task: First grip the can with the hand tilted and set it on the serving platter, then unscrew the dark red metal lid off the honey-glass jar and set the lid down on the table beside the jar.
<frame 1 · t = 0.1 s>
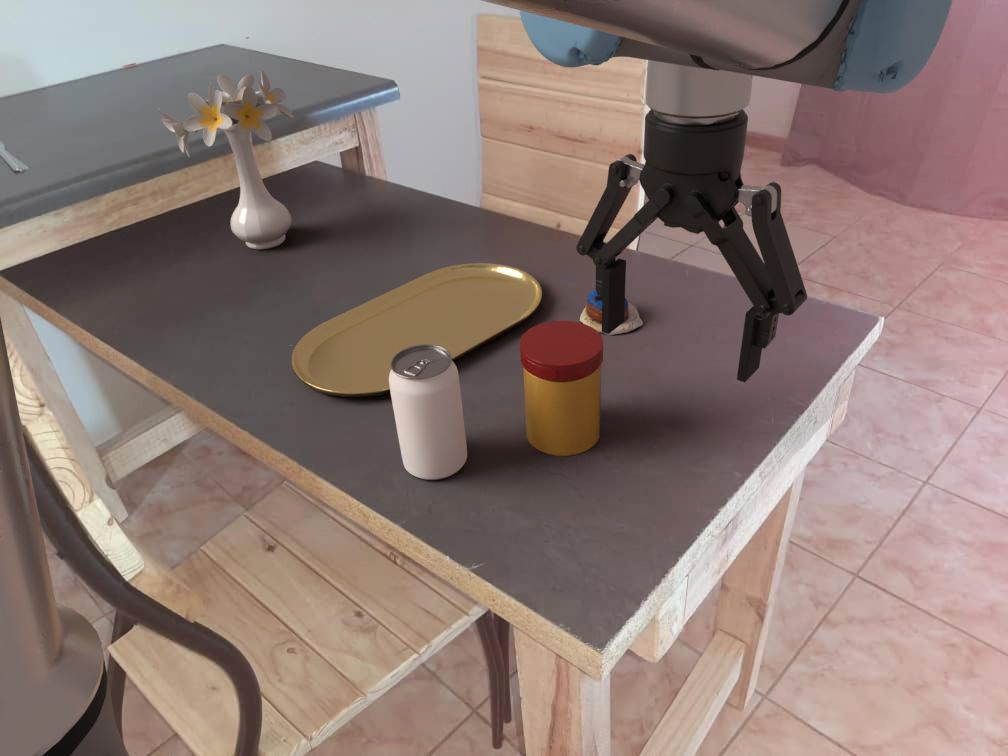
hand: (676, 349, 70), 12 cm above the table, tool pointing down, fingers open, 13 cm apart
dessert: (610, 320, 98), on the table
jar: (562, 432, 80), on the table
serving platter: (424, 331, 98), on the table
can: (435, 461, 78), on the table
jar lid: (561, 345, 74), point 11 cm above the table, screwed on, not yet turned
flower vase: (264, 244, 123), on the table
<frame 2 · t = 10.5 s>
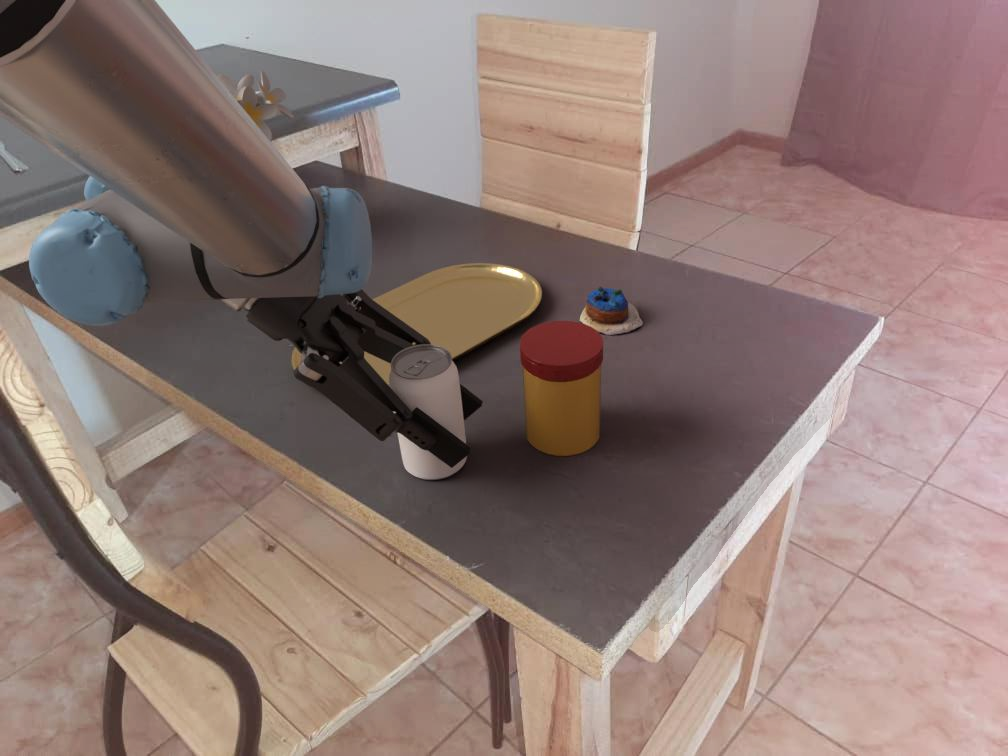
hand: (467, 433, 75), 4 cm above the table, tool tilted 45°, fingers closed on can, 6 cm apart
can: (435, 462, 78), on the table, touching gripper
everything else where it was.
when the fingers open (5 cm above the table, at t = 21.2 s): can stays where it is, resting on serving platter.
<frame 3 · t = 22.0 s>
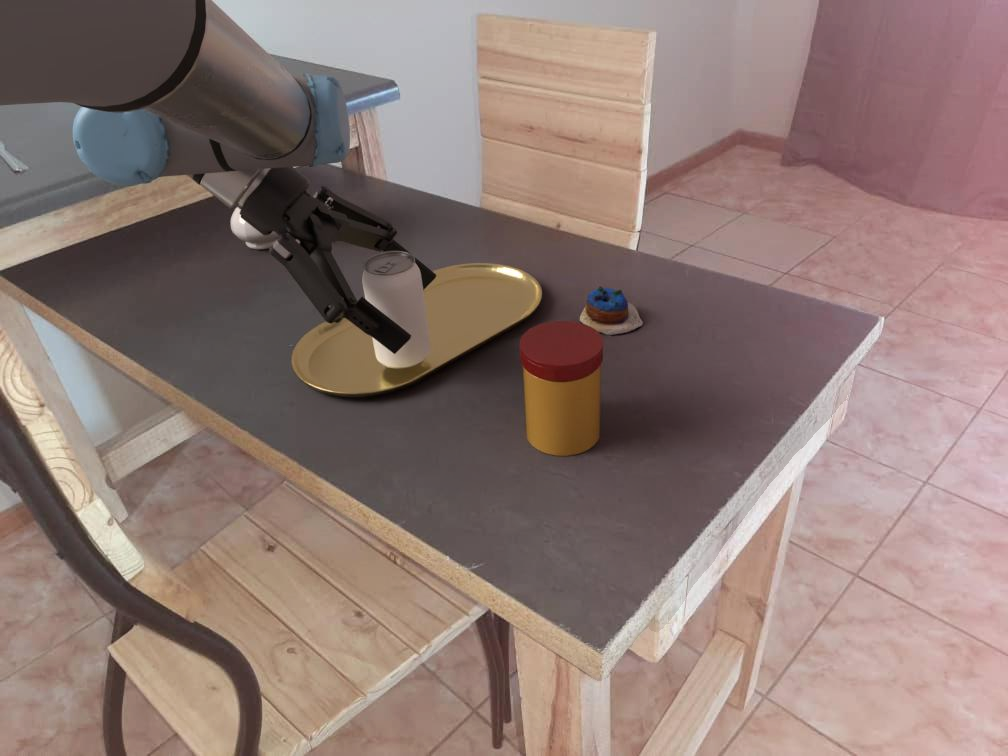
hand: (417, 312, 87), 7 cm above the table, tool tilted 45°, fingers open, 13 cm apart
serving platter: (424, 331, 98), on the table, touching can
can: (403, 356, 91), point 1 cm above the table, touching serving platter
everything else where it was.
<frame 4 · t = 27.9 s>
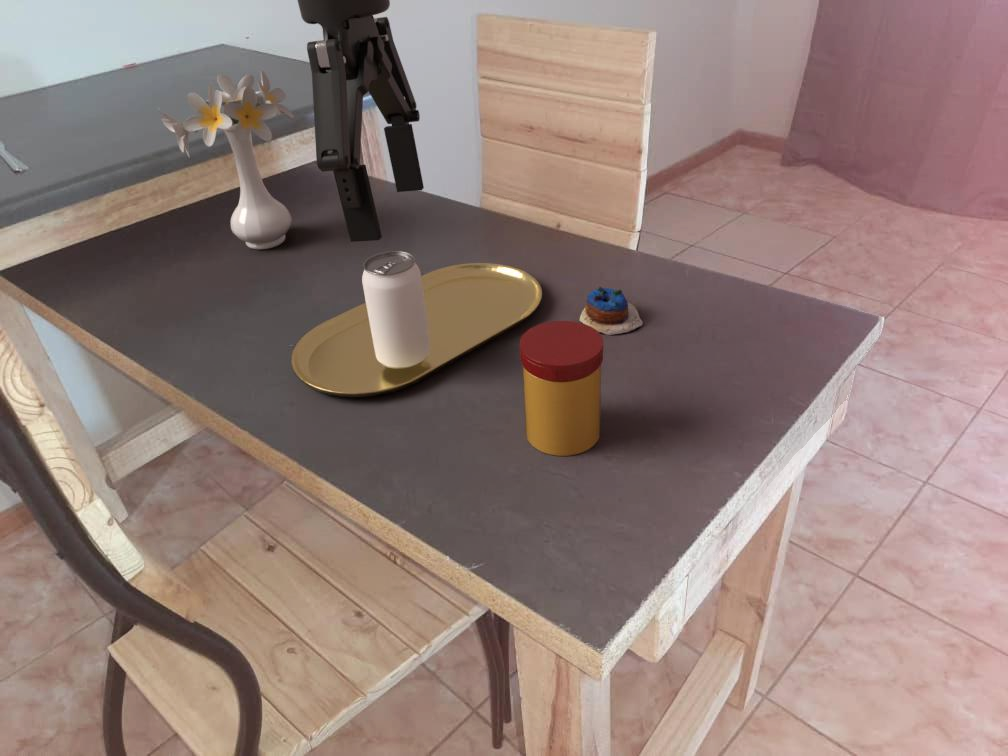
hand: (390, 213, 75), 22 cm above the table, tool pointing down, fingers open, 13 cm apart
nothing on the table moved.
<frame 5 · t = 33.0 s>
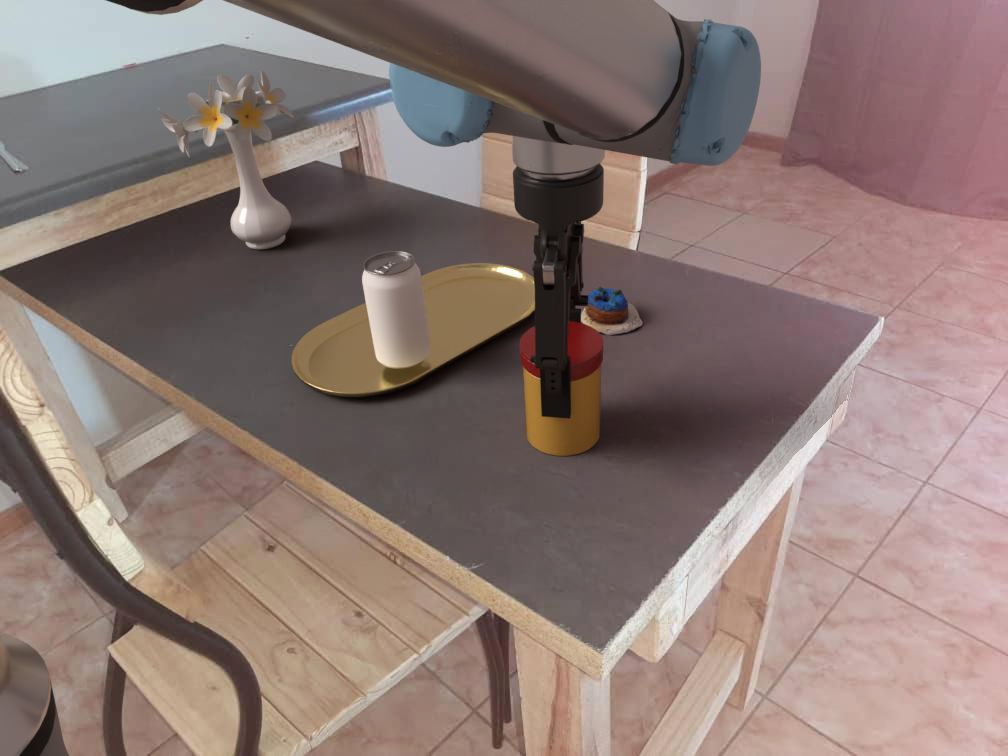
hand: (562, 388, 77), 6 cm above the table, tool pointing down, fingers closed on jar lid, 8 cm apart
jar lid: (561, 345, 74), point 11 cm above the table, screwed on, not yet turned, touching gripper
everything else where it was.
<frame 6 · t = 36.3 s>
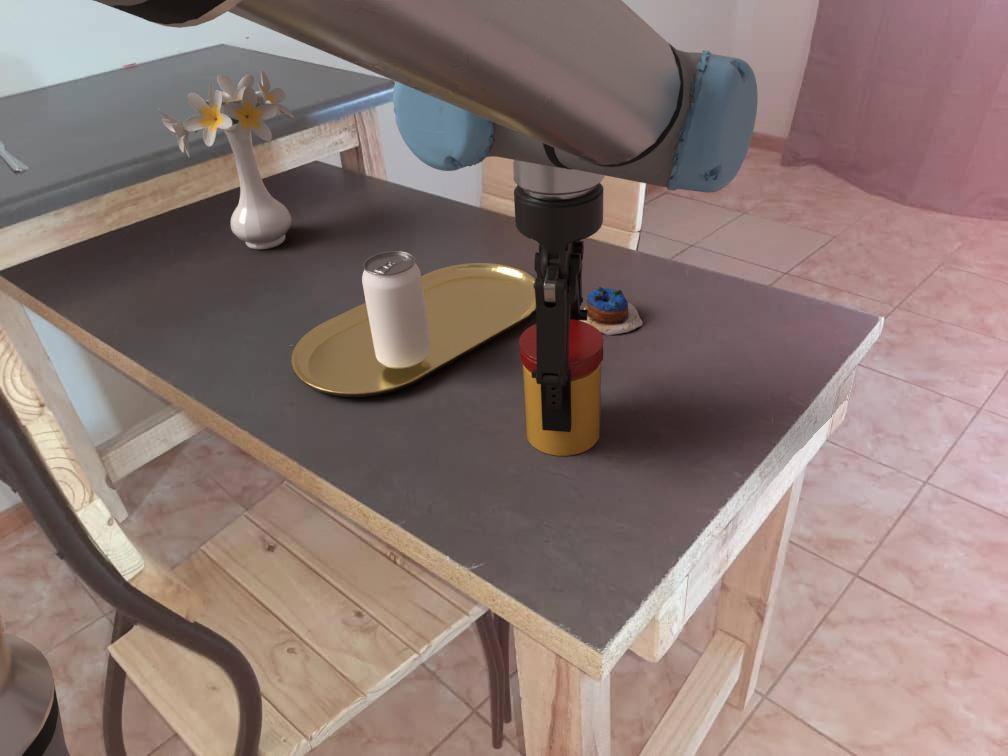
hand: (562, 401, 78), 4 cm above the table, tool pointing down, fingers closed on jar lid, 8 cm apart
jar lid: (561, 343, 74), point 11 cm above the table, turned 83° so far, risen 0.2 cm, still on its thread, touching gripper
everything else where it was.
when the fingers open (0 cm above the table, at t = 44.1 s): jar lid drops 6 cm, point 1 cm above the table.
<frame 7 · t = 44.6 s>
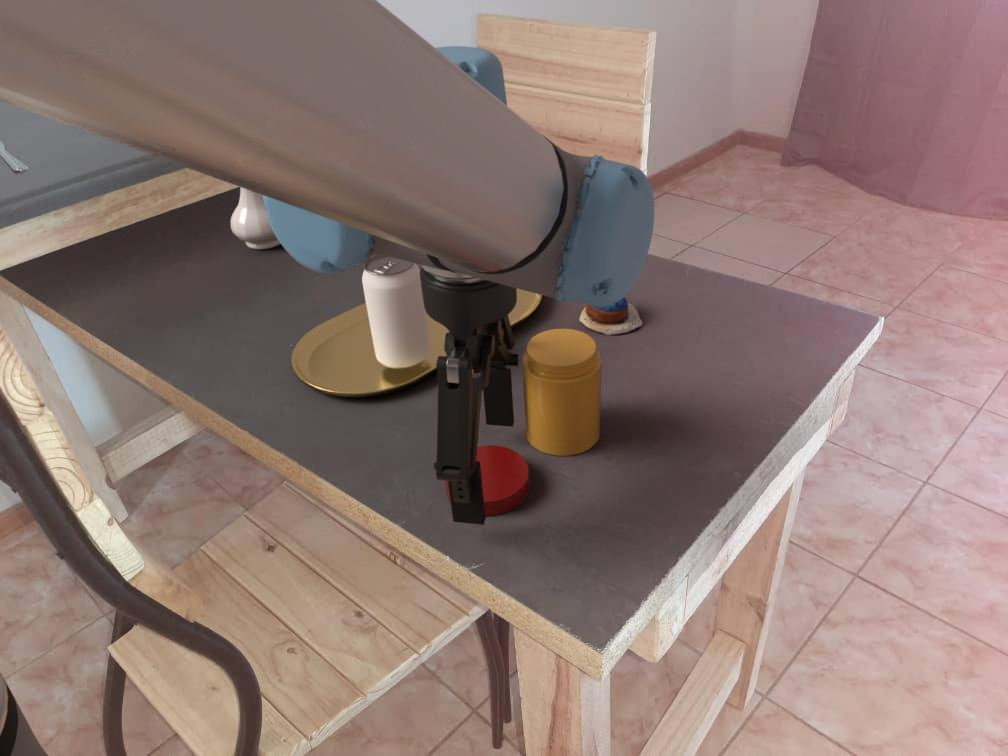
hand: (485, 468, 73), 2 cm above the table, tool pointing down, fingers open, 13 cm apart
jar lid: (487, 475, 73), point 1 cm above the table, off its thread
everything else where it was.
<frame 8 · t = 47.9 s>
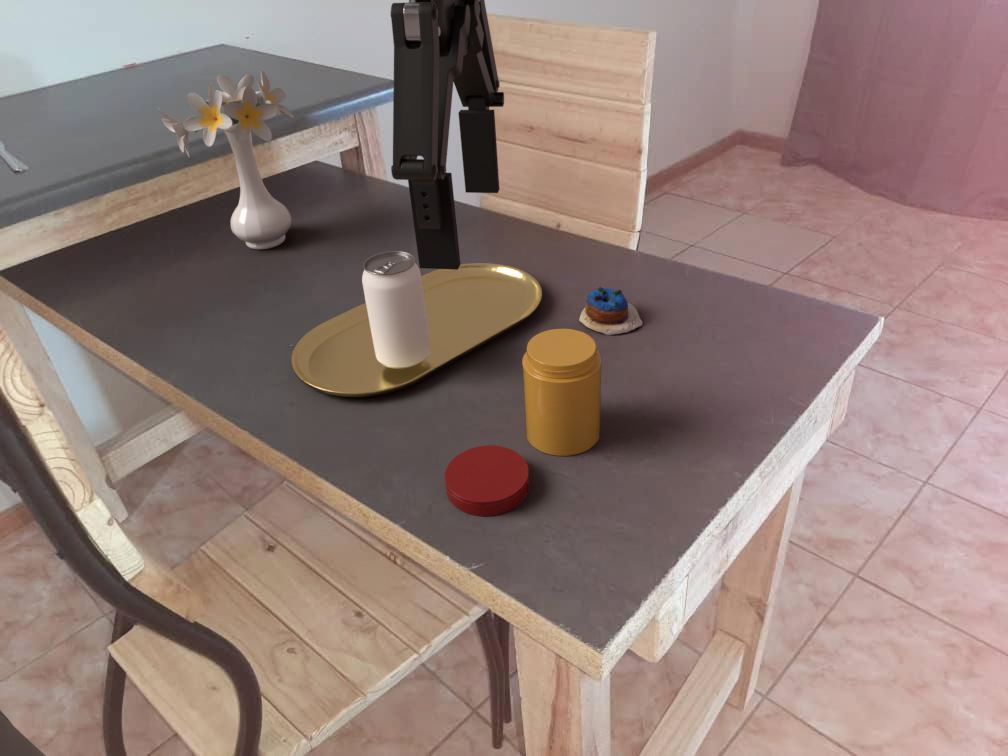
hand: (463, 225, 59), 27 cm above the table, tool pointing down, fingers open, 13 cm apart
nothing on the table moved.
at the end: can inside the target area on the serving platter (1.0 cm from its centre), point 1.6 cm above the serving platter's base; jar lid inside the target area (0.0 cm from its centre), point 1.4 cm above the table; the gripper is holding nothing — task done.
